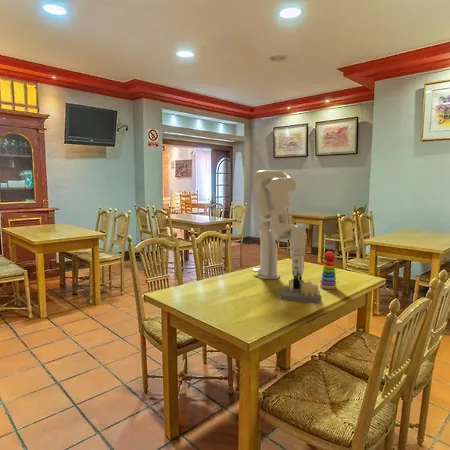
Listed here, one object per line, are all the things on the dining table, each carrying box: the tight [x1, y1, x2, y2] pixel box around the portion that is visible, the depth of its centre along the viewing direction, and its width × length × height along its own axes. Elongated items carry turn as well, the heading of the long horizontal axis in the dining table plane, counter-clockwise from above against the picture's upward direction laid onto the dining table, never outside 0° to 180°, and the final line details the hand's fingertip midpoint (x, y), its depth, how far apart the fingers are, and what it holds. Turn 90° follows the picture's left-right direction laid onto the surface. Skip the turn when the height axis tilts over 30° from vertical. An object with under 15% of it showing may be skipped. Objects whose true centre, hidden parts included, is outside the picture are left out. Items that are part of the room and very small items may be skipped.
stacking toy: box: [319, 251, 337, 290], centre depth 178 cm, size 8×8×19 cm
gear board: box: [279, 279, 321, 304], centre depth 164 cm, size 17×12×8 cm
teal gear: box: [288, 278, 306, 289], centre depth 175 cm, size 8×8×4 cm
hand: (297, 286), depth 175 cm, fingers closed on teal gear, 7 cm apart
